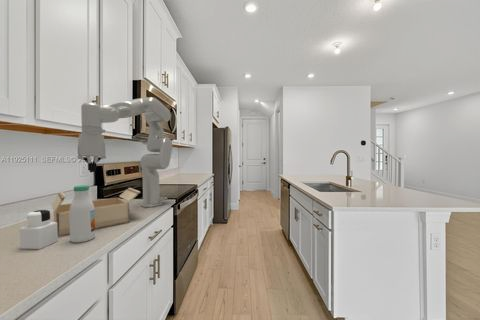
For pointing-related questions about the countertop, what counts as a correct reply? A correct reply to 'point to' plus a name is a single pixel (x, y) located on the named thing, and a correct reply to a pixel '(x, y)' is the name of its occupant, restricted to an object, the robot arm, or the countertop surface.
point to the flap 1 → (58, 201)
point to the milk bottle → (81, 216)
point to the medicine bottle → (38, 231)
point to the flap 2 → (129, 194)
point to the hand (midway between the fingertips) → (92, 171)
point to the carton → (105, 214)
